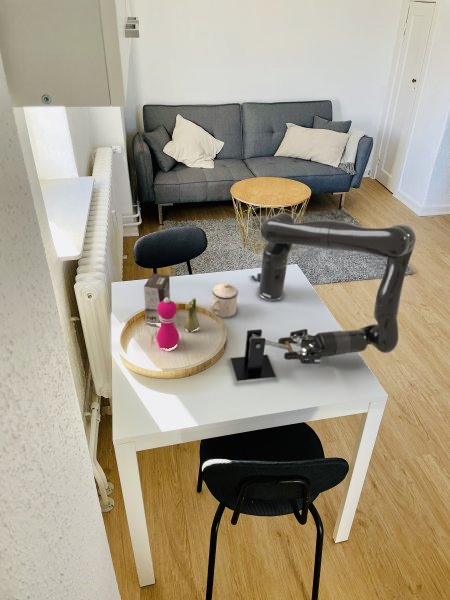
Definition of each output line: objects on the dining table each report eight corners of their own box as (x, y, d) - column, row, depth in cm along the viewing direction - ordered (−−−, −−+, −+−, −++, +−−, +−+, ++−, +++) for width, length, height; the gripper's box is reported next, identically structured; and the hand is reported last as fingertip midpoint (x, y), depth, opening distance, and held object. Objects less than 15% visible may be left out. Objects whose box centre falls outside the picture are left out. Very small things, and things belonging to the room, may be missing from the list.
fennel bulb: (192, 323, 160) (193, 295, 153) (203, 329, 158) (203, 301, 151) (181, 331, 156) (181, 302, 149) (191, 337, 154) (192, 308, 147)
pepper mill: (182, 344, 151) (182, 294, 139) (173, 357, 145) (172, 307, 134) (163, 338, 153) (161, 289, 141) (153, 351, 147) (150, 301, 135)
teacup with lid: (222, 300, 172) (223, 274, 166) (241, 310, 168) (243, 283, 161) (201, 314, 165) (202, 287, 158) (220, 325, 160) (222, 298, 153)
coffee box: (163, 328, 157) (161, 289, 148) (145, 325, 158) (142, 286, 149) (171, 312, 165) (170, 274, 155) (154, 309, 165) (152, 272, 156)
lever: (286, 345, 143) (290, 339, 142) (292, 357, 138) (296, 352, 137) (247, 335, 137) (251, 329, 136) (252, 348, 133) (255, 342, 132)
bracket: (266, 357, 147) (271, 323, 139) (275, 379, 139) (280, 344, 131) (230, 361, 145) (232, 326, 137) (236, 383, 137) (240, 348, 129)
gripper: (326, 319, 146) (276, 324, 143) (344, 349, 134) (289, 355, 131) (323, 337, 150) (273, 343, 147) (339, 368, 139) (287, 374, 136)
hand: (281, 349), depth 139 cm, fingers closed on lever, 6 cm apart
